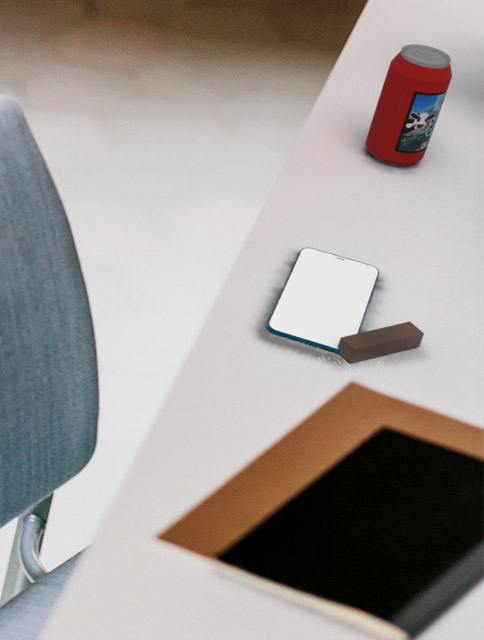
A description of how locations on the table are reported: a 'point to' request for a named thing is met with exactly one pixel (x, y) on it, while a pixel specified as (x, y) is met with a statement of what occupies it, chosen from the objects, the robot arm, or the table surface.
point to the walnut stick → (380, 342)
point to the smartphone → (323, 299)
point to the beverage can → (409, 105)
